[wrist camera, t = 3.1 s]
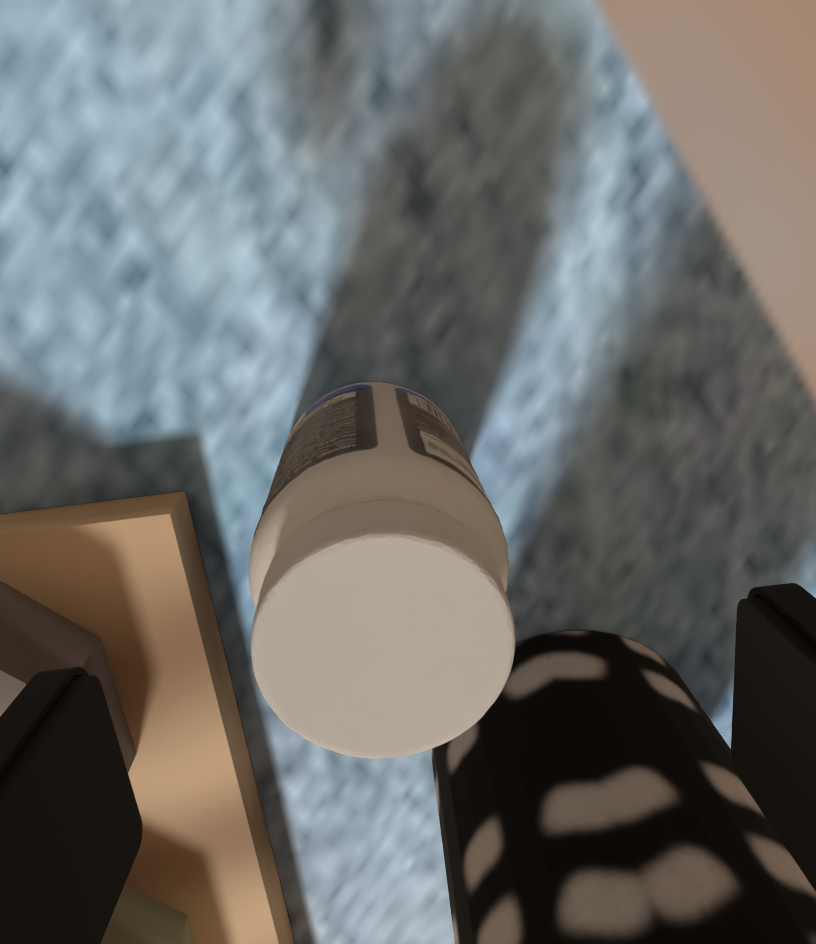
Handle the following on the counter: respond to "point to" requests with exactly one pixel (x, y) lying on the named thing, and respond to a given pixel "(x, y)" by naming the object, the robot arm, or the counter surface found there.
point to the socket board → (149, 707)
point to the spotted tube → (607, 812)
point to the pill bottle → (379, 579)
